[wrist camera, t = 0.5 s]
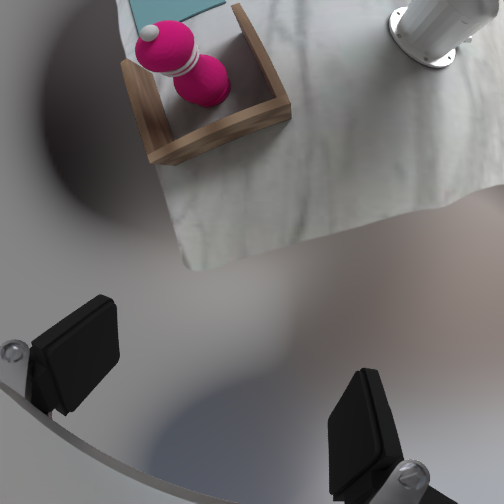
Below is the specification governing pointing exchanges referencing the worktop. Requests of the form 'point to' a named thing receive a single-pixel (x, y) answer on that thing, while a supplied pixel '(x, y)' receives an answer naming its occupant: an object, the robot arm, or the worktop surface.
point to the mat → (168, 10)
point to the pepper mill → (182, 62)
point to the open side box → (212, 135)
